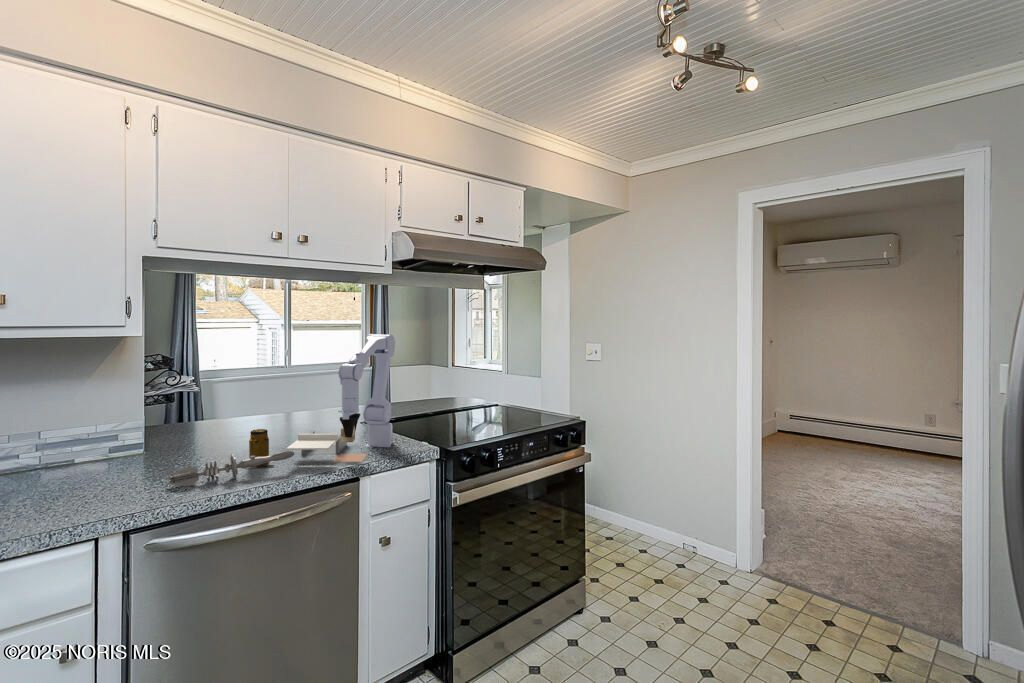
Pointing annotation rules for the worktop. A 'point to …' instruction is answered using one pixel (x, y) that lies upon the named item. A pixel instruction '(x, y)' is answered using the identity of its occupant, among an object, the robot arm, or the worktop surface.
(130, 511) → the worktop surface
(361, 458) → the tile
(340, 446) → the case
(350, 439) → the block
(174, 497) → the worktop surface
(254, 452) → the condiment
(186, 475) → the spaceship
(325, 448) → the cover
